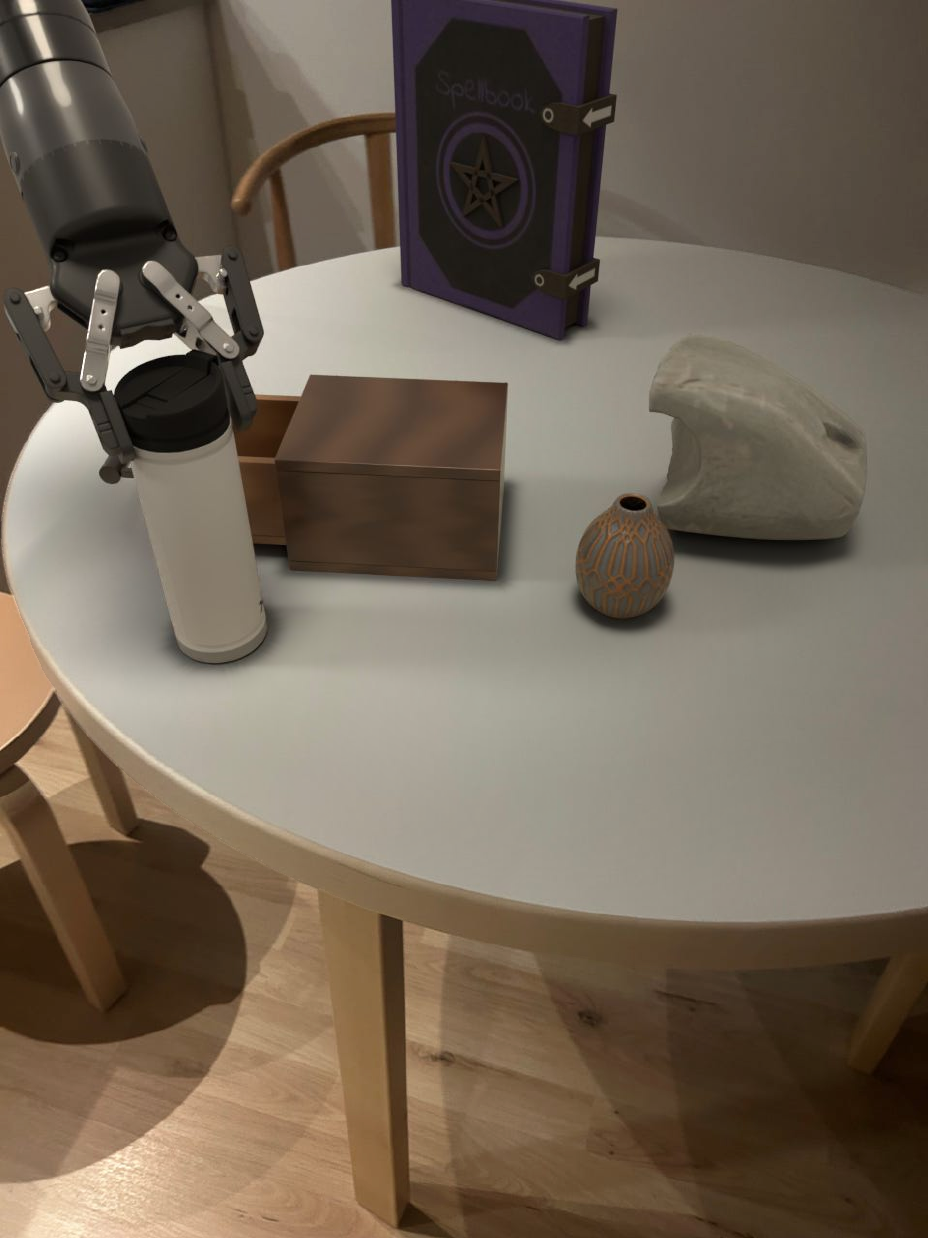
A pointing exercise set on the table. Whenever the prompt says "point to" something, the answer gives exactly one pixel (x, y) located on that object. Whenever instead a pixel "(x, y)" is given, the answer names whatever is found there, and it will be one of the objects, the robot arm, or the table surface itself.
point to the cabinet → (395, 477)
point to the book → (502, 153)
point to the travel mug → (194, 503)
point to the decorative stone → (754, 447)
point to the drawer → (248, 466)
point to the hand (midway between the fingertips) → (187, 441)
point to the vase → (625, 558)
